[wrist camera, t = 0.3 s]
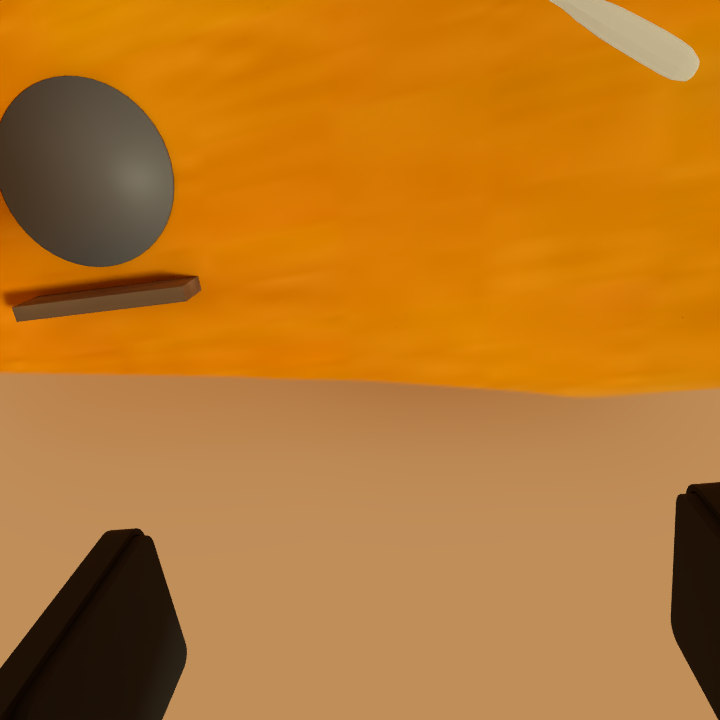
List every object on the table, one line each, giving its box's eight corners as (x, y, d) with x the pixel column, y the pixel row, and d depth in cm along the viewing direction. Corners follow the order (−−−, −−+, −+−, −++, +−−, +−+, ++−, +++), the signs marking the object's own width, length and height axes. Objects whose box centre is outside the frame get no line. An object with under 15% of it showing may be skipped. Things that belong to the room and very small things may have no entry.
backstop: (38, 296, 42) (11, 307, 39) (197, 276, 41) (182, 286, 38) (42, 309, 42) (16, 321, 40) (201, 290, 41) (186, 301, 38)
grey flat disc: (-30, 92, 38) (-33, 92, 37) (147, 61, 36) (146, 61, 36) (31, 275, 42) (29, 276, 41) (192, 254, 40) (191, 255, 40)
